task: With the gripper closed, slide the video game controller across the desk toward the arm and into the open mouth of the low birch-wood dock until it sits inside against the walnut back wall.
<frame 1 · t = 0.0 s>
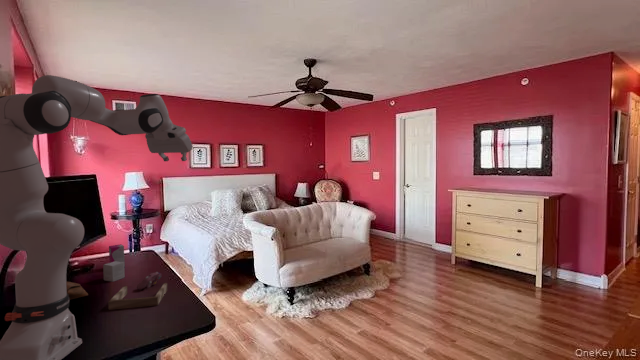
hand: (175, 160, 146), 54 cm above the table, tool tilted 30°, fingers open, 8 cm apart
supplement box: (117, 268, 169), on the table
sunglasses case: (72, 293, 136), on the table
birch dock: (139, 299, 128), on the table
product box: (114, 279, 152), on the table
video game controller: (150, 286, 143), on the table
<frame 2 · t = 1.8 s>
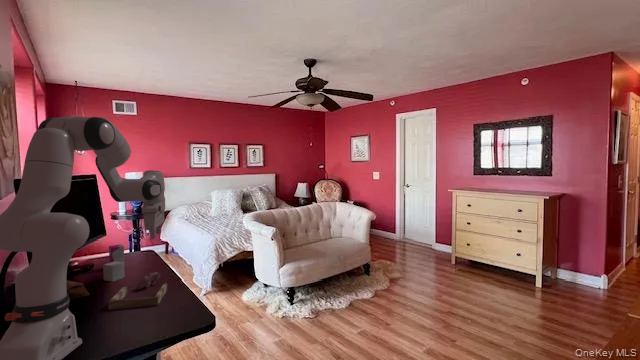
hand: (155, 236, 151), 20 cm above the table, tool pointing down, fingers open, 8 cm apart
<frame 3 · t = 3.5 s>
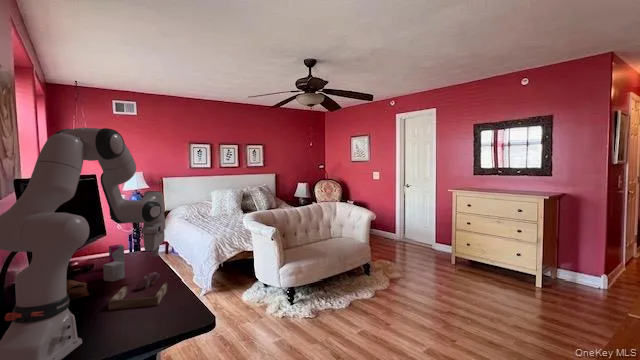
hand: (155, 255, 151), 11 cm above the table, tool pointing down, fingers closed
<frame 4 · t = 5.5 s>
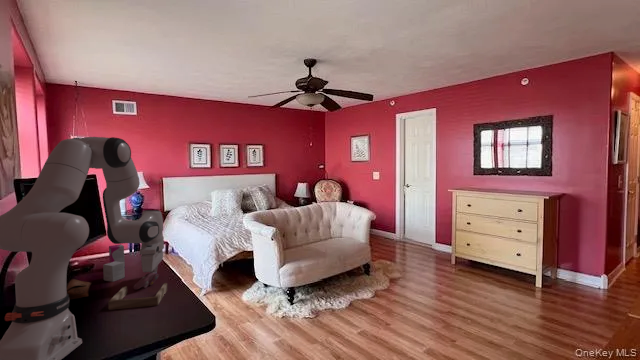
hand: (153, 275, 148), 2 cm above the table, tool pointing down, fingers closed
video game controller: (147, 286, 142), on the table, touching gripper
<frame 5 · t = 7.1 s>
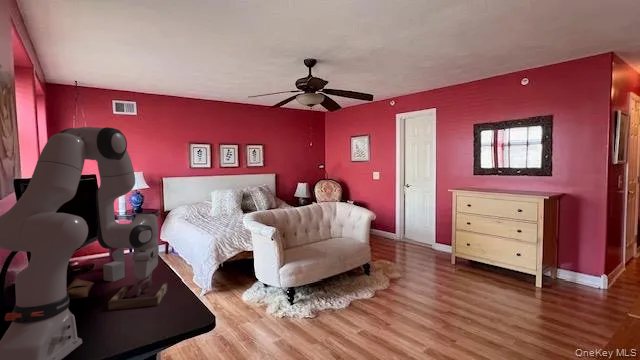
hand: (148, 282, 140), 2 cm above the table, tool pointing down, fingers closed
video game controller: (140, 294, 134), on the table, touching gripper
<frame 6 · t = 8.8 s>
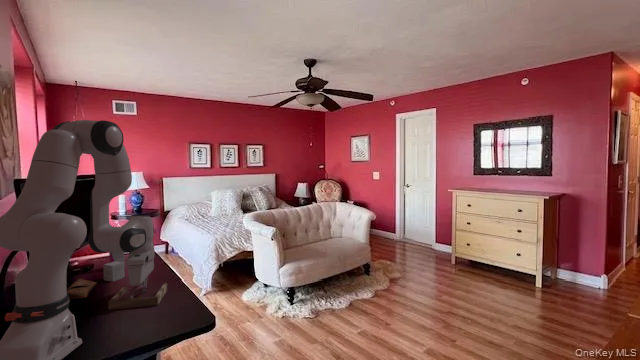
hand: (143, 288, 133), 3 cm above the table, tool pointing down, fingers closed
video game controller: (133, 301, 127), on the table, touching birch dock, gripper
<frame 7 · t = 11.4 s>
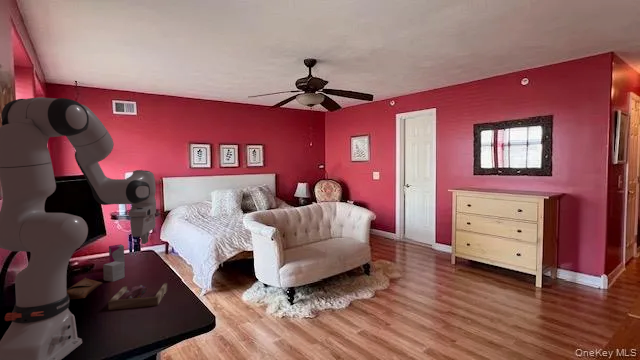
hand: (144, 243, 136), 20 cm above the table, tool pointing down, fingers closed
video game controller: (132, 301, 127), on the table
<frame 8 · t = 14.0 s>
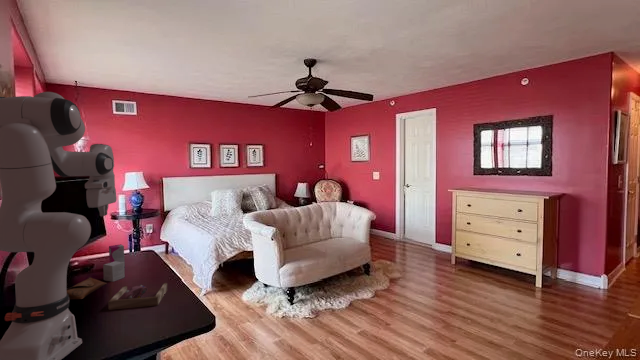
hand: (103, 215, 139), 31 cm above the table, tool pointing down, fingers closed
at the end: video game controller inside the target area on the birch dock (2.2 cm from its centre), point 0.0 cm above the birch dock's base; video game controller moved 15.7 cm from its start; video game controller tilted 0° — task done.
